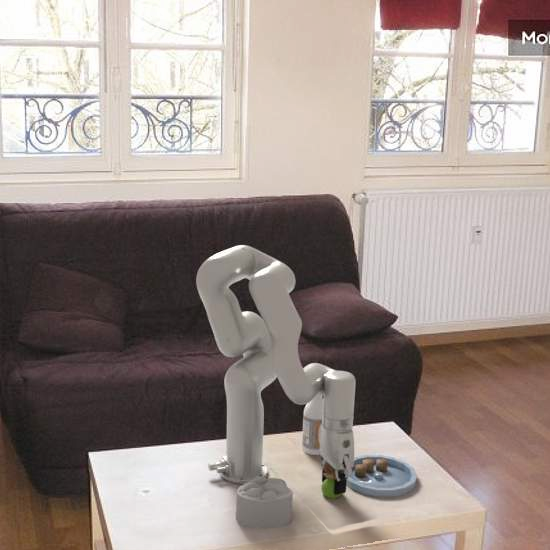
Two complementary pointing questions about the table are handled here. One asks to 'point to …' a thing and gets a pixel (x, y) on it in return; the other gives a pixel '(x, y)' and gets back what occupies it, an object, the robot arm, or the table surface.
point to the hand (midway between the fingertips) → (333, 486)
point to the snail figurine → (329, 481)
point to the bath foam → (312, 426)
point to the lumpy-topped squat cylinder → (264, 503)
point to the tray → (384, 478)
